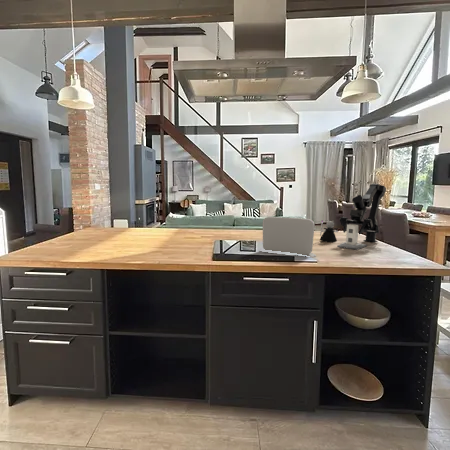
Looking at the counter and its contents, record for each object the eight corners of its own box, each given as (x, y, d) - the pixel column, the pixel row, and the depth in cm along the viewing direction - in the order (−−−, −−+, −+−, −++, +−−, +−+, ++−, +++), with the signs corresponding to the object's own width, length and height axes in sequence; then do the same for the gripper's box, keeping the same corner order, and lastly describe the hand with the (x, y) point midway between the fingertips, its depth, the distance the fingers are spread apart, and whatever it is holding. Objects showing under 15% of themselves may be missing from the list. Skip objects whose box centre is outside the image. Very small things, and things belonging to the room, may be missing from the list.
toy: (335, 238, 222) (338, 218, 215) (337, 243, 216) (340, 223, 209) (317, 238, 223) (320, 218, 217) (319, 243, 217) (322, 222, 210)
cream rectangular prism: (349, 244, 201) (350, 224, 199) (357, 246, 198) (358, 224, 196) (345, 246, 197) (346, 224, 196) (353, 247, 194) (355, 225, 192)
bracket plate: (347, 243, 211) (348, 239, 211) (366, 246, 203) (367, 242, 203) (336, 247, 199) (337, 243, 199) (356, 250, 191) (356, 245, 191)
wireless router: (317, 254, 177) (319, 218, 175) (314, 258, 168) (316, 220, 166) (262, 249, 190) (263, 215, 188) (257, 252, 181) (258, 216, 179)
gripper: (341, 204, 204) (332, 223, 197) (372, 205, 191) (364, 226, 184) (346, 215, 210) (337, 234, 204) (376, 218, 198) (368, 238, 191)
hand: (351, 233), depth 196 cm, fingers open, 9 cm apart
